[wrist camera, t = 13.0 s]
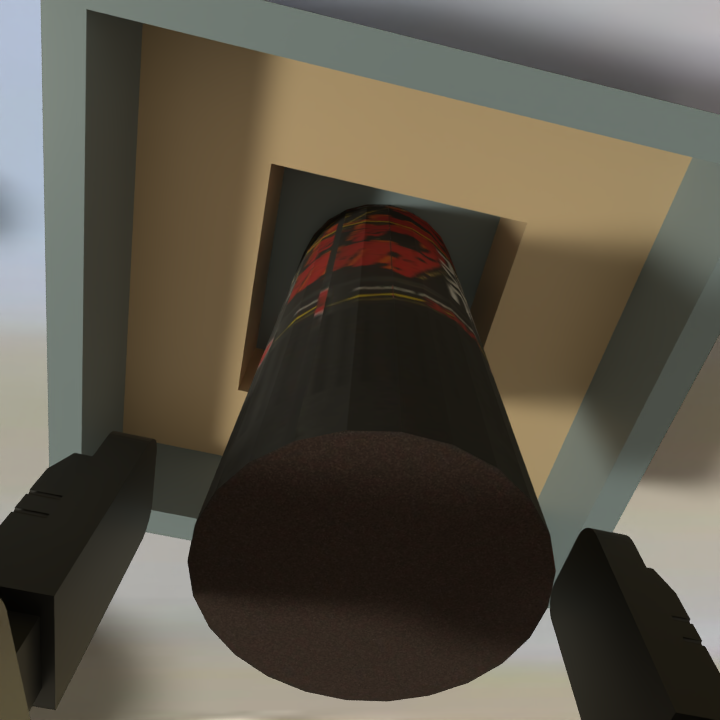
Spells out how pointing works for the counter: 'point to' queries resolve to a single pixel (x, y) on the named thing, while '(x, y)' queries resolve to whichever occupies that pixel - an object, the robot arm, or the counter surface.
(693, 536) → the counter surface
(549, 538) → the deodorant
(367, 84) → the bin
